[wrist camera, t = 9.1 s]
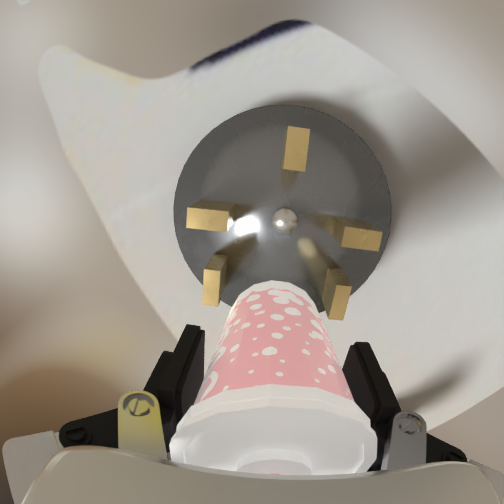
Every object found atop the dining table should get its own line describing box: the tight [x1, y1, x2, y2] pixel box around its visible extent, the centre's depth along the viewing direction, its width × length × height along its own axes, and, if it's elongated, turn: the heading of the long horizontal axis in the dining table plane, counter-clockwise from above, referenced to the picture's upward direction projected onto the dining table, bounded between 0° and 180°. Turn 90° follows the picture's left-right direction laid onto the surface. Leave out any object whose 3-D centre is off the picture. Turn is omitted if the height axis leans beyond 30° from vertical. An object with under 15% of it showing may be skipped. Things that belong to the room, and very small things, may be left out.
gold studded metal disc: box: [174, 105, 391, 320], centre depth 19 cm, size 15×15×5 cm
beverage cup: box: [169, 280, 377, 475], centre depth 9 cm, size 6×6×14 cm
